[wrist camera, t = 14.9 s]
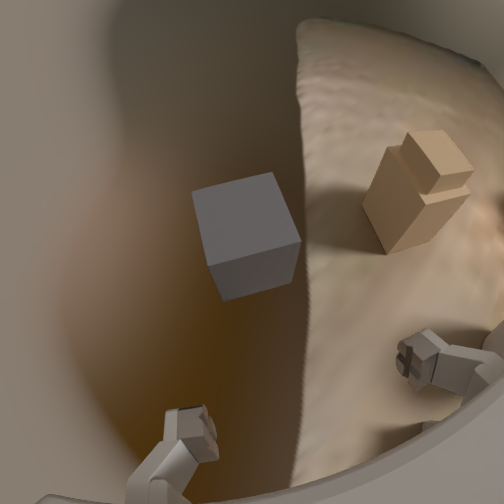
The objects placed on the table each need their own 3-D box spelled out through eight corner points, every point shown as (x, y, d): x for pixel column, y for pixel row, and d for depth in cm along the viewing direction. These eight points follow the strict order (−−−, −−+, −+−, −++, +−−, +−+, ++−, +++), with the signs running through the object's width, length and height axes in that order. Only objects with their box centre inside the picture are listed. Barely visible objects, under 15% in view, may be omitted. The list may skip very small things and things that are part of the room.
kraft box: (429, 240, 28) (484, 176, 17) (386, 255, 27) (439, 185, 17) (404, 195, 30) (443, 124, 20) (361, 204, 30) (395, 125, 20)
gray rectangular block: (290, 282, 26) (301, 241, 19) (223, 301, 26) (207, 266, 19) (270, 225, 29) (272, 172, 22) (208, 241, 28) (191, 191, 21)
